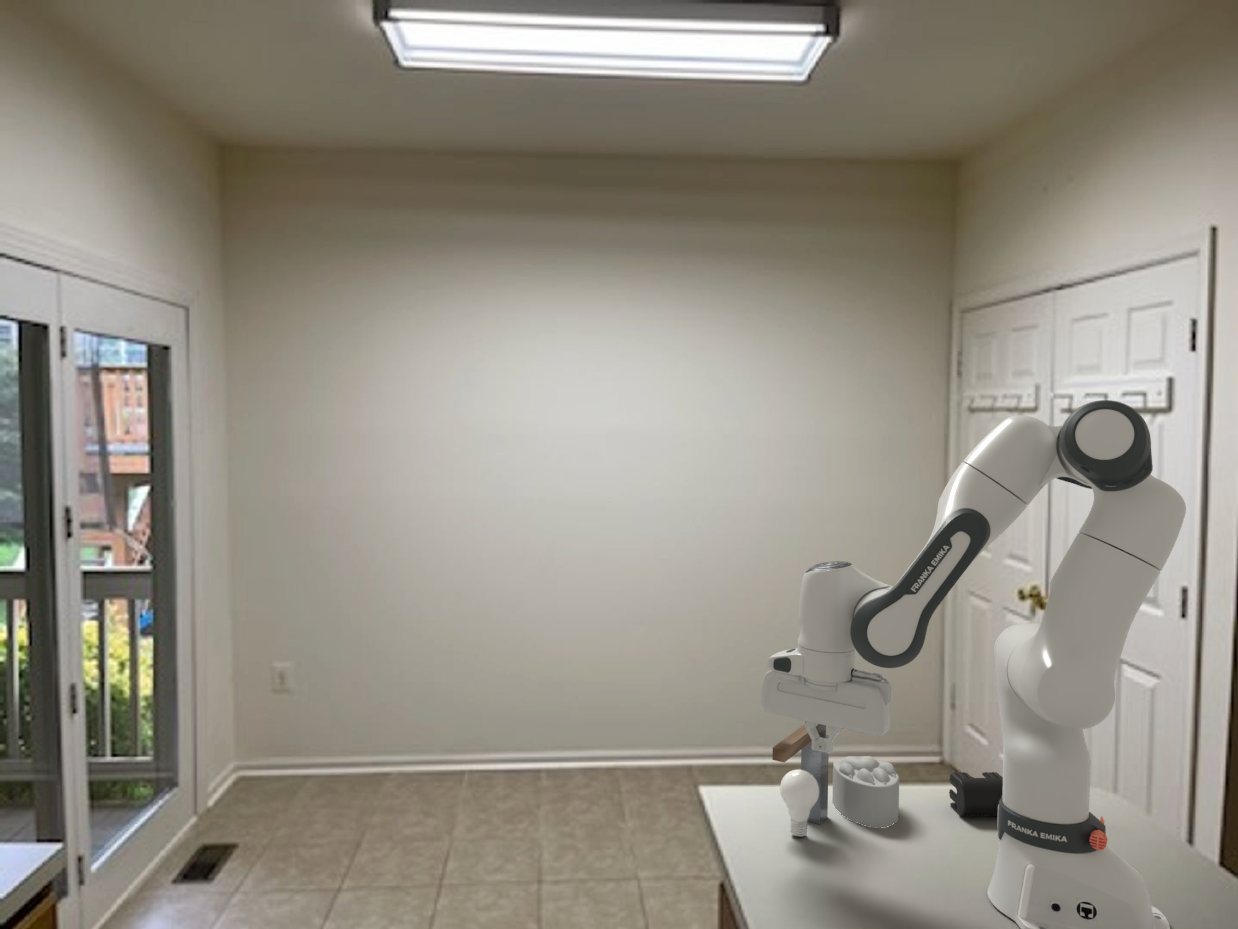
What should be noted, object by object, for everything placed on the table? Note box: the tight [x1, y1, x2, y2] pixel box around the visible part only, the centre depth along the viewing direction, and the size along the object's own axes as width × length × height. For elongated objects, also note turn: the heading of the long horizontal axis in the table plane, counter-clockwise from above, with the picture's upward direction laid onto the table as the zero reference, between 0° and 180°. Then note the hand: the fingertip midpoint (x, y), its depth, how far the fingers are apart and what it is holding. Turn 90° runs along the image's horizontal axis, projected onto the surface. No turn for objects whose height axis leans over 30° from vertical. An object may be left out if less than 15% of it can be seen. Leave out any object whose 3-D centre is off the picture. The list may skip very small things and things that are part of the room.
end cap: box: [948, 771, 1003, 817], centre depth 151 cm, size 10×7×7 cm
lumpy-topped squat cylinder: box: [831, 755, 900, 829], centre depth 151 cm, size 10×13×9 cm
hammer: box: [772, 723, 827, 763], centre depth 142 cm, size 4×18×3 cm, turn 146°
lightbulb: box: [779, 768, 819, 838], centre depth 141 cm, size 6×6×11 cm
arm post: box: [800, 734, 830, 825], centre depth 148 cm, size 4×4×14 cm
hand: (822, 750), depth 135 cm, fingers closed
